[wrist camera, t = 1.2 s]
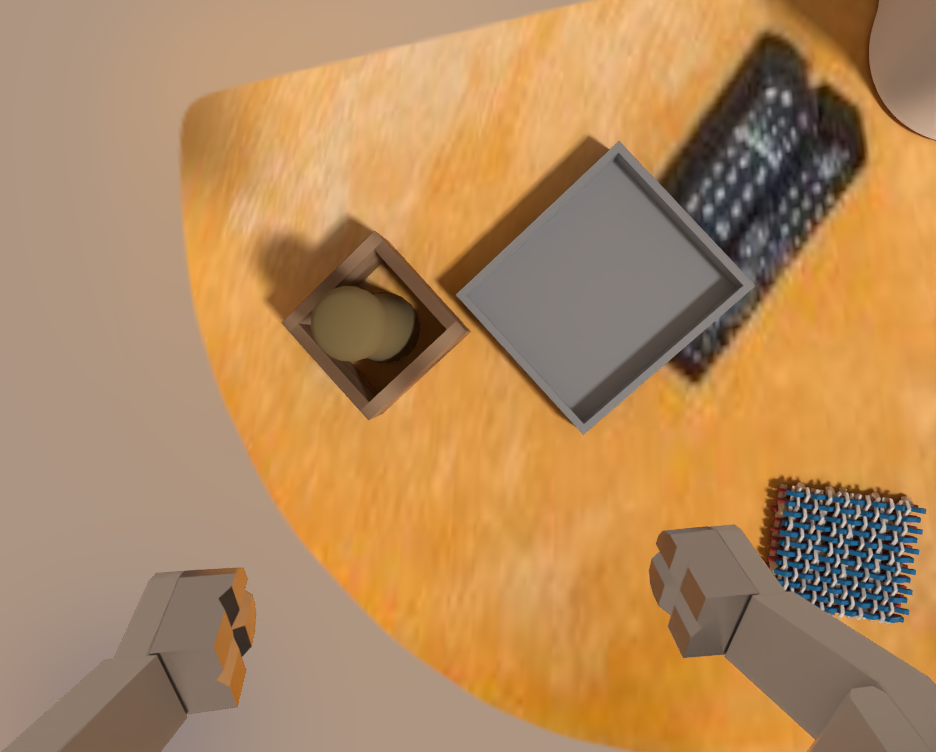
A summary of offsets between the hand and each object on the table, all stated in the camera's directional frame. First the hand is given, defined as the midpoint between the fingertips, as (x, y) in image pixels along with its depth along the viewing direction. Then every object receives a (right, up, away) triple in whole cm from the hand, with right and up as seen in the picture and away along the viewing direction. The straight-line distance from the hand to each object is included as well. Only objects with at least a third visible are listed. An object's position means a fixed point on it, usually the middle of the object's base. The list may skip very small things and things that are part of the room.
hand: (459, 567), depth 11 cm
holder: (-7, +8, +36) cm, 38 cm away
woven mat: (+30, -10, +34) cm, 46 cm away
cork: (-7, +8, +36) cm, 38 cm away
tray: (+11, +11, +34) cm, 37 cm away
